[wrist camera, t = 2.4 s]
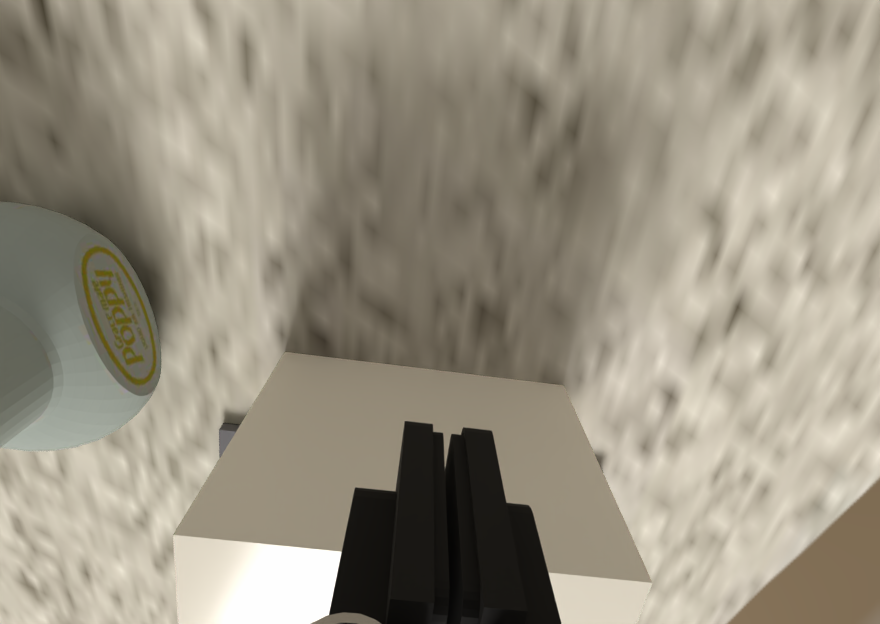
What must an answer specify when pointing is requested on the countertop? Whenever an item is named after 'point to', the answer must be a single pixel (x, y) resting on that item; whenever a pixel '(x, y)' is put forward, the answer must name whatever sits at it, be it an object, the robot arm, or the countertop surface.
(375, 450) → the tile
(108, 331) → the air freshener
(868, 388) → the countertop surface
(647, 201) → the countertop surface
